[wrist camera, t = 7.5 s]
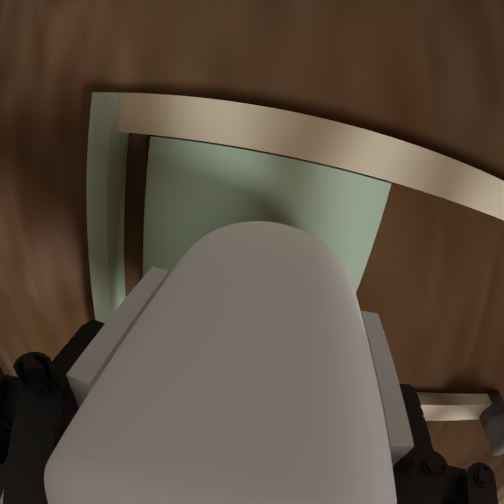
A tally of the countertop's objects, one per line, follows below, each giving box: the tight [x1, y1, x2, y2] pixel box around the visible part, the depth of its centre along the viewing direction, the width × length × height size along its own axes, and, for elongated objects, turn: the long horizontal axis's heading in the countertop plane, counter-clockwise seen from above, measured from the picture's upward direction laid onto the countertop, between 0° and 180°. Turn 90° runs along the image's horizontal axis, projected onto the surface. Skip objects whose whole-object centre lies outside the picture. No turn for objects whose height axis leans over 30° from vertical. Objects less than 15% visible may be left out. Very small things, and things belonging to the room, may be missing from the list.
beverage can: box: [44, 221, 397, 504], centre depth 9 cm, size 8×8×12 cm
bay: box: [86, 92, 504, 456], centre depth 14 cm, size 30×17×5 cm, turn 81°
